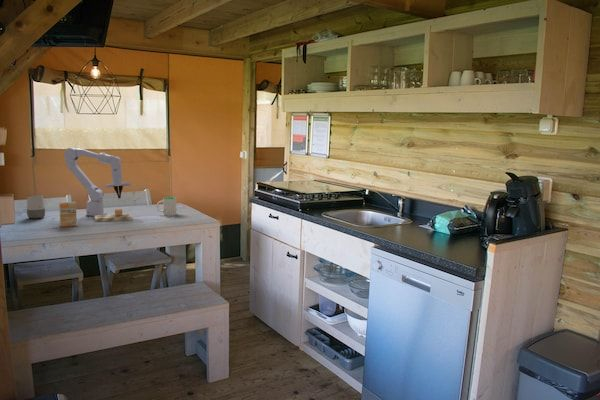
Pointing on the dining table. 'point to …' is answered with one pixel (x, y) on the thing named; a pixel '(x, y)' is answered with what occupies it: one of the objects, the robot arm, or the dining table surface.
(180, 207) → the dining table surface
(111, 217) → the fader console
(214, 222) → the dining table surface
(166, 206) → the mug
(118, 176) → the robot arm
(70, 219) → the supplement box
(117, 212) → the fader tab
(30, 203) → the smart speaker
